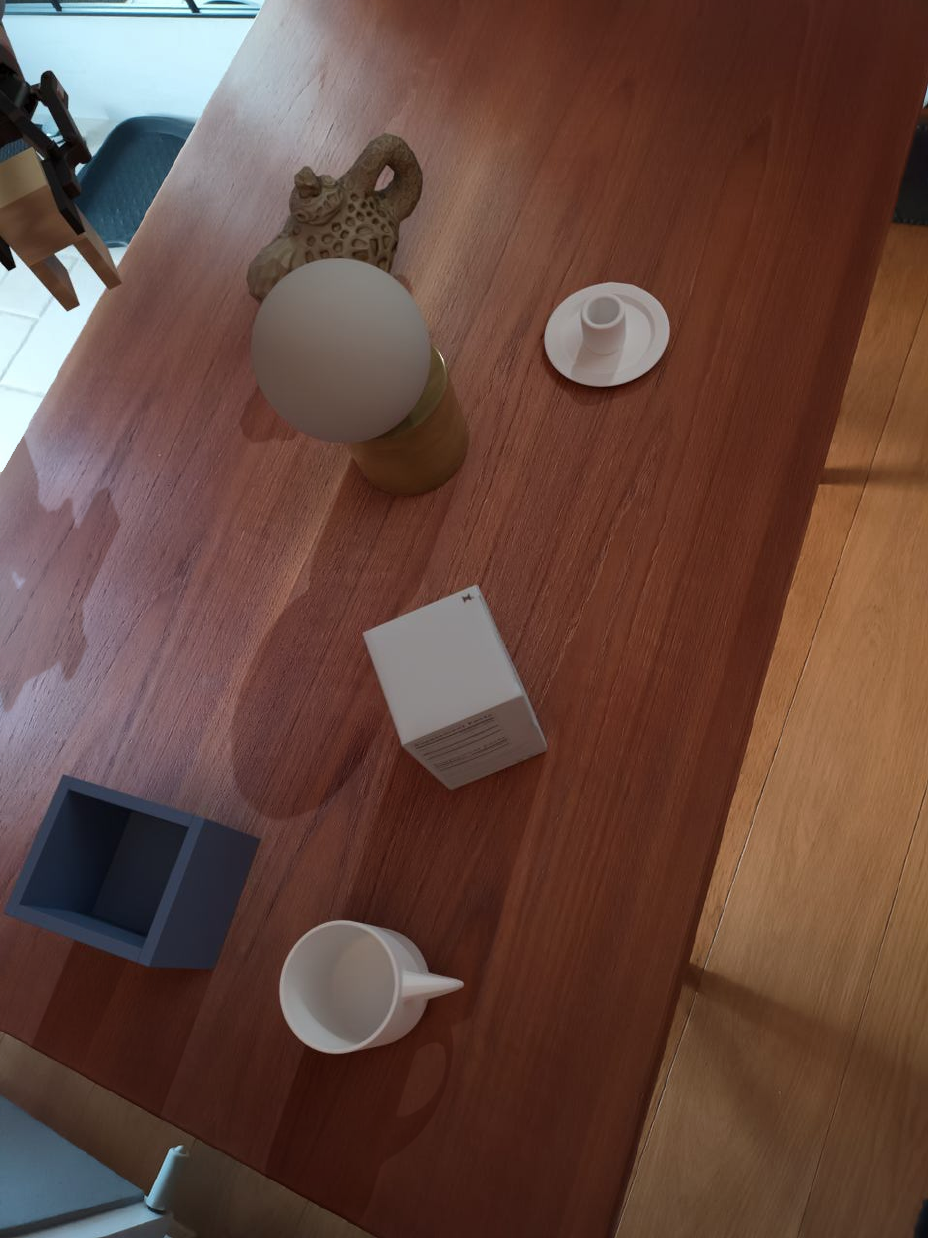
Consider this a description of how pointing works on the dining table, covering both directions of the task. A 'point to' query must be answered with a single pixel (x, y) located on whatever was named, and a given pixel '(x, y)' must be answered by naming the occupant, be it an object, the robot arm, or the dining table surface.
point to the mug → (356, 987)
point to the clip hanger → (46, 229)
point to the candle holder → (607, 334)
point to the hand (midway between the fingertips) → (37, 239)
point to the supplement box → (454, 690)
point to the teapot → (343, 215)
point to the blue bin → (133, 877)
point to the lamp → (360, 373)
